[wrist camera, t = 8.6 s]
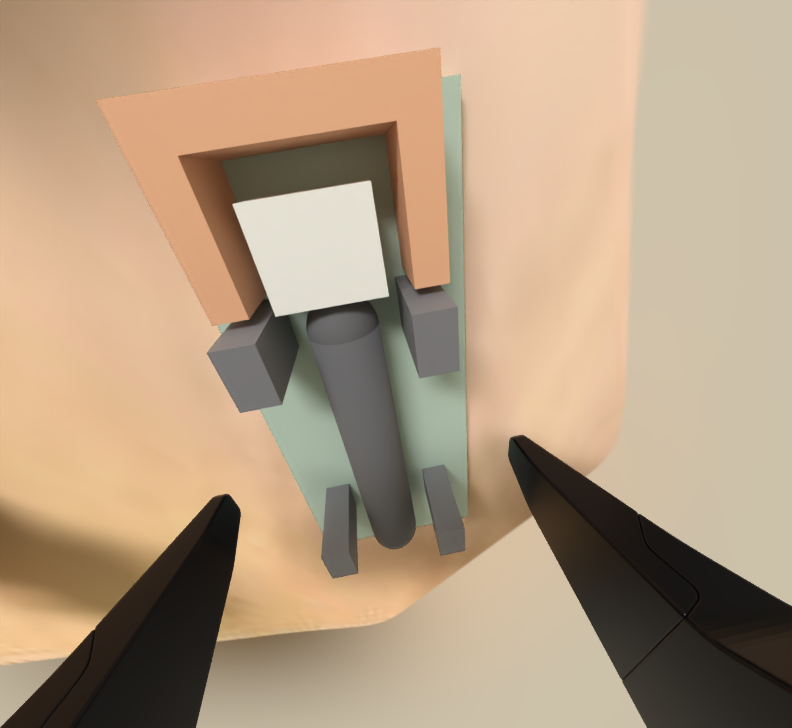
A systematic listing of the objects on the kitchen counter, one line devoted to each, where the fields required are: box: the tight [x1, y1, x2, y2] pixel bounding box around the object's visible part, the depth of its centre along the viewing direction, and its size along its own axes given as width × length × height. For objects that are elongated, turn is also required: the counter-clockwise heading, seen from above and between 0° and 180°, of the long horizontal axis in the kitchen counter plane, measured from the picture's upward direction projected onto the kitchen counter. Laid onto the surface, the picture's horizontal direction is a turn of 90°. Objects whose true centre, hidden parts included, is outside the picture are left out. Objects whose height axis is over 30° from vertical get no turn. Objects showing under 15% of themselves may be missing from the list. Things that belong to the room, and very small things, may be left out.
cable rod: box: [232, 180, 416, 549], centre depth 13 cm, size 3×17×2 cm, turn 8°
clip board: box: [96, 48, 468, 578], centre depth 12 cm, size 9×21×4 cm, turn 8°
